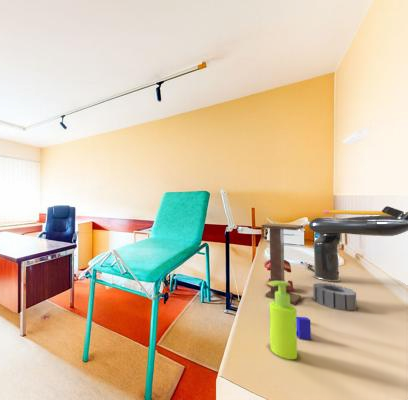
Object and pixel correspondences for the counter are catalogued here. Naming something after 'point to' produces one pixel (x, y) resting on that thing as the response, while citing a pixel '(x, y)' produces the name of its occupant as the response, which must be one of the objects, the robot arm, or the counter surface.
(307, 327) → the cable clip
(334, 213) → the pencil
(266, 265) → the anatomical model
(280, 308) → the soap dispenser
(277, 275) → the brown pedestal stand
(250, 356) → the counter surface
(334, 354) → the counter surface
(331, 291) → the grey segmented ring
